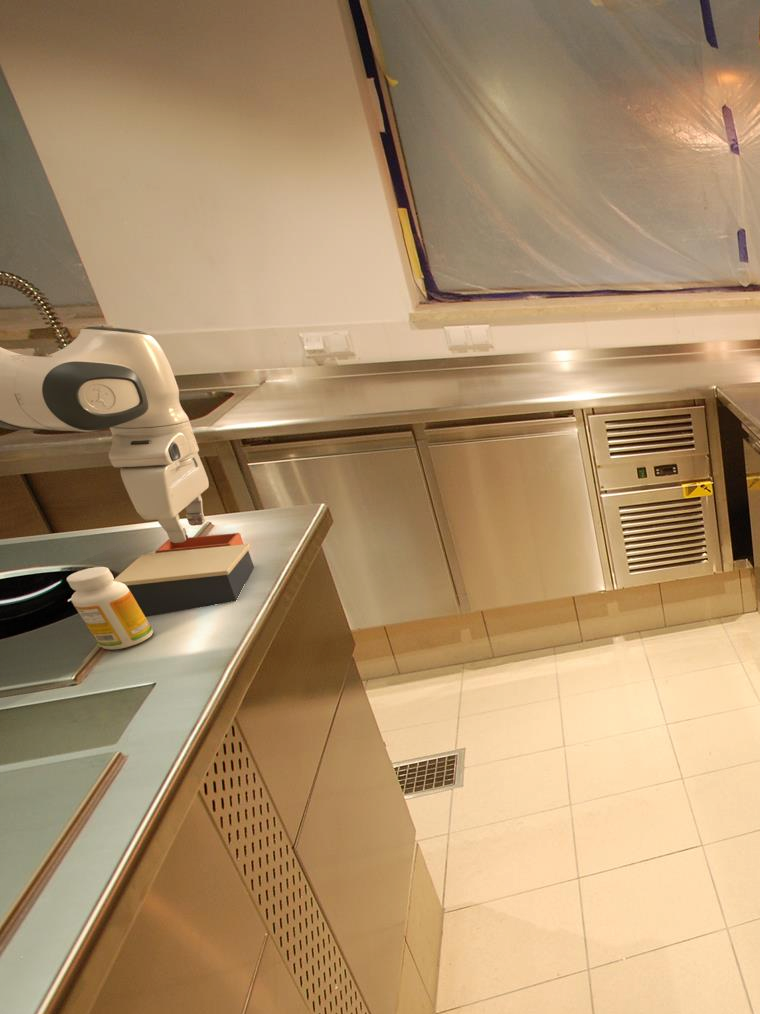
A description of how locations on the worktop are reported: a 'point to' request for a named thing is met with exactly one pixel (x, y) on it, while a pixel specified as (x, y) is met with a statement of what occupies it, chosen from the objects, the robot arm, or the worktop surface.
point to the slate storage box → (187, 578)
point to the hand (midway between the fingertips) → (189, 532)
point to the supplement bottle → (108, 609)
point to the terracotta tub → (202, 542)
